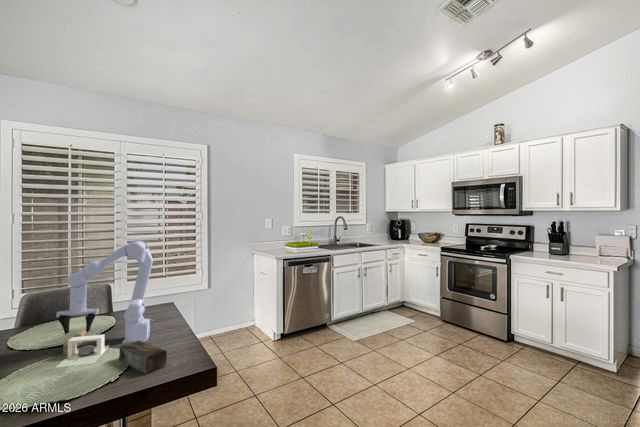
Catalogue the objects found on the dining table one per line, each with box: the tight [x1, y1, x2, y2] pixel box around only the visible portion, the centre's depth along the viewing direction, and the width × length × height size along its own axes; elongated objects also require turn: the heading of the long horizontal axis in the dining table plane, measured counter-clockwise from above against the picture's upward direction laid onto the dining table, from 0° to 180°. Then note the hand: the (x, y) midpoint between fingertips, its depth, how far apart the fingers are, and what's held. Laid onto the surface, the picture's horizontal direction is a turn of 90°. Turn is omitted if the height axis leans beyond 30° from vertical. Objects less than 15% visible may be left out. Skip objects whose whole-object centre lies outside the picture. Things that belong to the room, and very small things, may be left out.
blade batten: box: [62, 329, 87, 355], centre depth 131 cm, size 2×16×5 cm, turn 18°
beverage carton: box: [118, 341, 168, 375], centre depth 117 cm, size 8×19×7 cm, turn 59°
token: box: [78, 344, 95, 357], centre depth 124 cm, size 5×5×2 cm
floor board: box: [54, 344, 111, 368], centre depth 122 cm, size 12×17×1 cm
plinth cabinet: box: [67, 334, 106, 358], centre depth 124 cm, size 11×4×7 cm, turn 107°
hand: (77, 332), depth 133 cm, fingers open, 7 cm apart
